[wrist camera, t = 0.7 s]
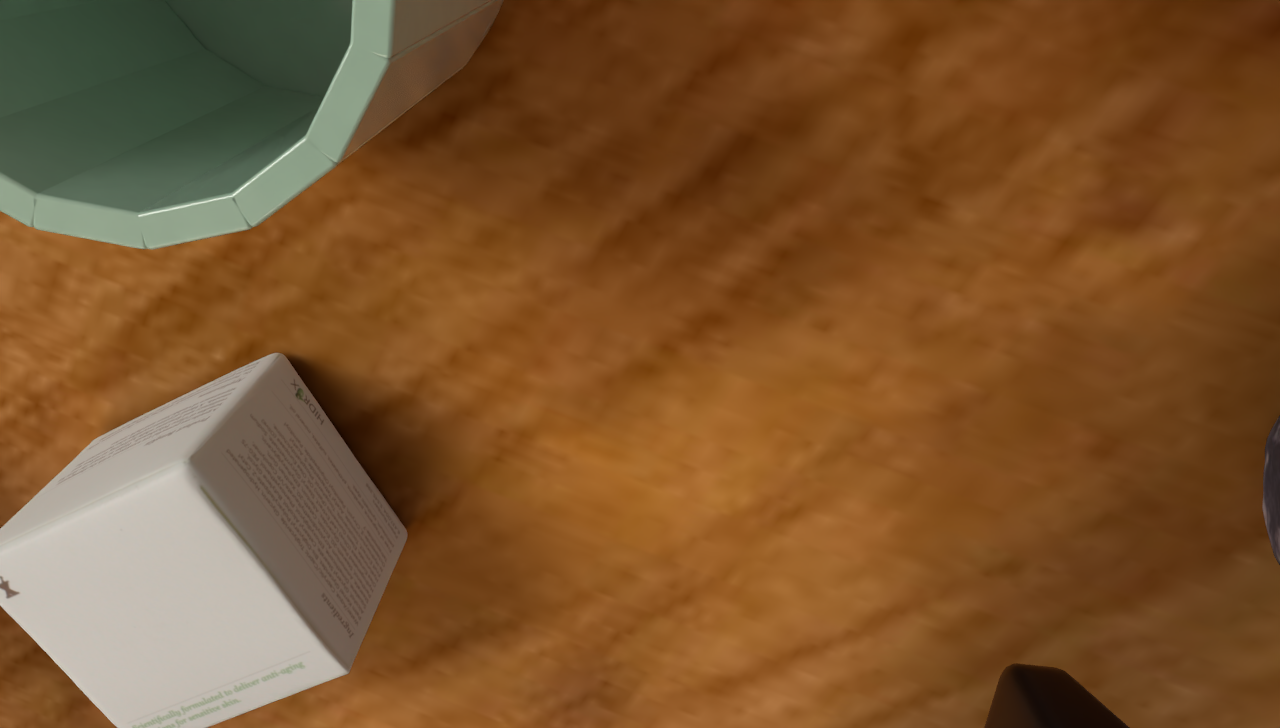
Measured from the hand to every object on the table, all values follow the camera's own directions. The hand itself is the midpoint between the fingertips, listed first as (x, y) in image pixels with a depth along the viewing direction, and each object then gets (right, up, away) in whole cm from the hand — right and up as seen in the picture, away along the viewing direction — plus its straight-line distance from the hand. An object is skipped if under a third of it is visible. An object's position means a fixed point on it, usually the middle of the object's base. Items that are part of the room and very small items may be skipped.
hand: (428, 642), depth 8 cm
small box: (-7, -1, +16) cm, 18 cm away
